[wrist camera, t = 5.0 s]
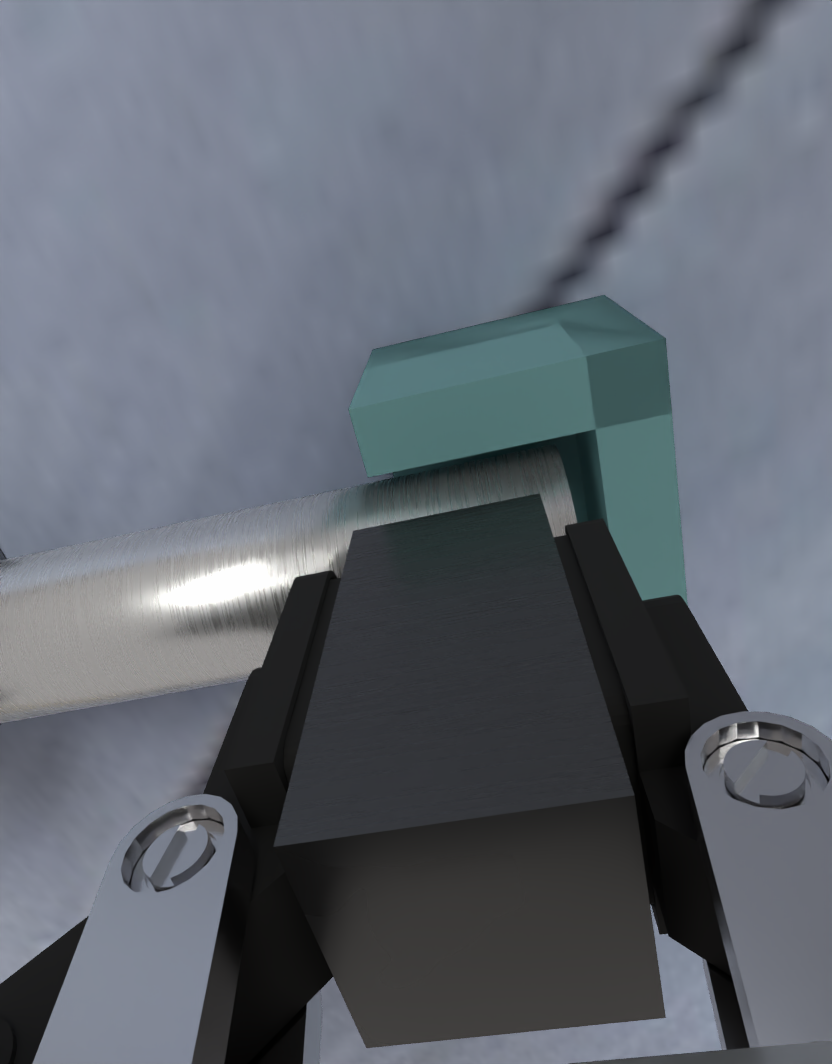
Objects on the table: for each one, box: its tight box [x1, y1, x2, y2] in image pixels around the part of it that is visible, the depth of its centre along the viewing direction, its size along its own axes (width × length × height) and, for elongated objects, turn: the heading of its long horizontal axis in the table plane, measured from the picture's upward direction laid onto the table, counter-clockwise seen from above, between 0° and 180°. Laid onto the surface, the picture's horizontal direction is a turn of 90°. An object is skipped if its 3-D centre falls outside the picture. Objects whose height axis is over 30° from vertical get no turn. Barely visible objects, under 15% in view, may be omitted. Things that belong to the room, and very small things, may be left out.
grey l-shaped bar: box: [0, 444, 666, 1048], centre depth 11 cm, size 18×3×9 cm, turn 103°
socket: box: [348, 295, 688, 606], centre depth 14 cm, size 5×6×4 cm
